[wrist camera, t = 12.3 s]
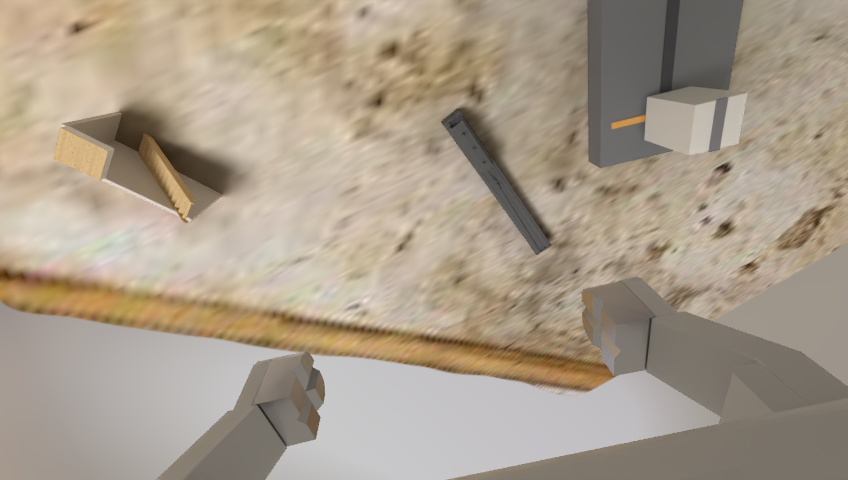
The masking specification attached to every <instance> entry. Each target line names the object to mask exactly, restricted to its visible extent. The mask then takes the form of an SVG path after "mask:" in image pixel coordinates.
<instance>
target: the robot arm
mask: <svg viewBox="0 0 848 480" xmlns="http://www.w3.org/2000/svg"><path fill="white" fill-rule="evenodd" d="M582 302H583V303H584V304H585V306H586V308H585V309H584V311H583V312H582V320H583V325H584V329H585V332H586V334H587V336H588V338H589V340H590V341H591V343H592V344H593V345H594V346H596V347H598V348H600V349H601V358H602V359H603V361H604V362H605V363H606V365H607V366H608V368H609V369H610V371H611V372H612V374H613V375H614V376H615V375H620V374H626V373H631V372H637V371H642V370H646V371H647V372H648V373H650V374H651V375H653V376H655V377H656V378H658V379H660V380H661V381H663V382H664V383H666V384H668V385H669V386H671V387H673V388H674V389H676V390H678V391H679V392H681V393H683V394H684V395H686V396H687V397H689V398H691V399H692V400H694V401H696V402H697V403H699V404H701V405H702V406H704V407H705V408H707V409H709V410H710V411H712V412H714V413H715V414H717V415H719V416H720V417H721V418H720V421H719V424H717V425H712V426H707V427H702V428H697V429H692V430H687V431H682V432H678V433H673V434H668V435H663V436H658V437H653V438H648V439H643V440H638V441H633V442H629V443H624V444H619V445H614V446H609V447H604V448H600V449H595V450H590V451H585V452H580V453H575V454H570V455H565V456H560V457H556V458H551V459H546V460H541V461H536V462H531V463H527V464H522V465H517V466H512V467H507V468H502V469H498V470H493V471H488V472H483V473H478V474H473V475H468V476H463V477H458V478H453V479H448V480H848V386H846V385H845V384H844V383H842V382H841V381H840V380H838V379H837V378H836V377H834V376H833V375H832V374H830V373H829V372H827V371H826V370H825V369H824V368H822V367H821V366H819V365H818V364H817V363H815V362H814V361H813V360H811V359H810V358H808V357H807V356H806V355H805V354H803V353H802V352H800V351H797V350H794V349H791V348H789V347H786V346H783V345H780V344H777V343H774V342H771V341H768V340H765V339H763V338H760V337H757V336H754V335H751V334H748V333H745V332H742V331H739V330H736V329H734V328H731V327H728V326H725V325H722V324H719V323H716V322H713V321H710V320H708V319H705V318H702V317H699V316H696V315H693V314H690V313H687V312H679V313H678V312H677V311H676V310H675V309H674V308H673V307H672V306H671V305H670V304H668V303H667V302H666V301H665V300H664V299H663V298H662V297H661V296H660V295H659V294H657V293H656V292H655V291H654V290H653V289H652V288H651V287H650V286H649V285H648V284H647V283H645V282H644V281H643V280H642V279H641V278H639V277H633V278H629V279H625V280H621V281H618V282H613V283H609V284H605V285H600V286H596V287H592V288H587V289H583V292H582ZM313 362H314V360H313V358H312V356H311V355H310V353H308V352H302V353H297V354H292V355H287V356H283V357H277V358H274V359H269V360H264V361H259V362H257V363H256V364H255V365H254V366H253V368H252V370H251V372H250V374H249V377H248V379H247V381H246V383H245V385H244V387H243V390H242V392H241V394H240V396H239V399H238V401H237V403H236V405H235V407H234V410H232V411H228V412H227V413H226V414H225V415H224V416H222V417H221V418H220V419H219V421H217V422H216V423H215V424H214V425H213V426H212V427H211V428H210V429H209V430H208V431H207V432H206V433H205V434H204V435H203V436H201V437H200V438H199V439H198V440H197V441H196V442H195V443H194V444H193V445H192V446H191V447H190V448H189V449H188V450H187V451H186V452H185V453H184V454H183V455H181V456H180V457H179V459H177V460H176V461H175V462H174V463H173V464H172V465H171V466H170V467H169V468H168V469H167V470H166V471H165V472H164V473H163V474H161V476H159V477H158V478H157V479H156V480H265V479H266V478H267V476H268V475H269V473H270V472H271V470H272V469H273V467H274V466H275V465H276V463H277V462H278V460H279V459H280V457H281V456H282V454H283V453H284V451H285V450H286V449H287V447H286V446H290V445H294V444H298V443H302V442H306V441H310V440H315V439H316V436H317V431H318V426H319V421H320V416H319V414H318V412H317V410H318V409H319V408H320V407H321V405H322V404H323V402H324V396H325V386H324V381H323V378H322V375H321V373H320V371H319V370H317V369H315V368H313V367H312V366H313Z"/></svg>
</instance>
